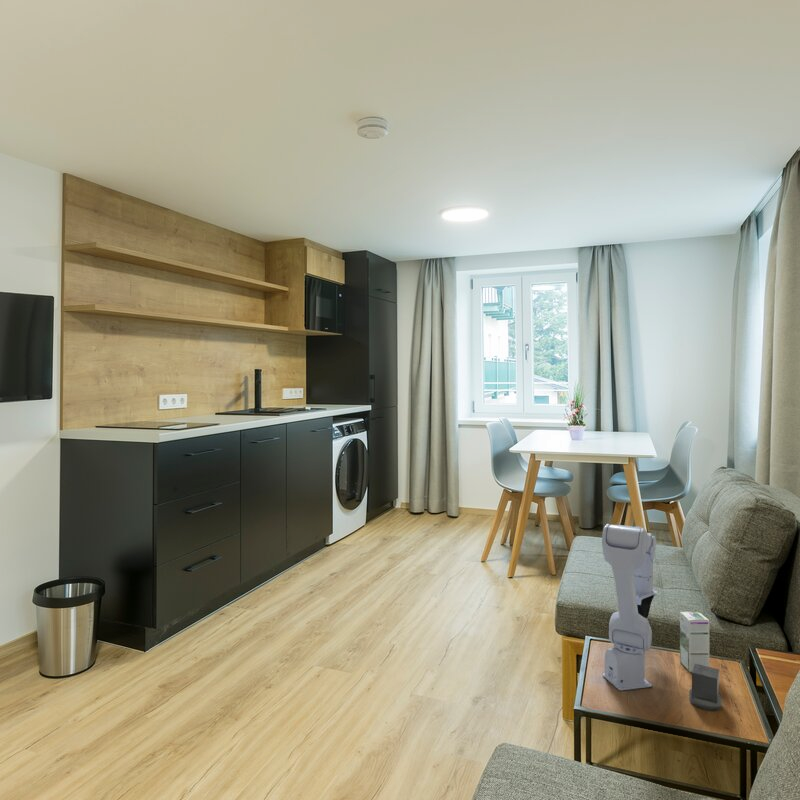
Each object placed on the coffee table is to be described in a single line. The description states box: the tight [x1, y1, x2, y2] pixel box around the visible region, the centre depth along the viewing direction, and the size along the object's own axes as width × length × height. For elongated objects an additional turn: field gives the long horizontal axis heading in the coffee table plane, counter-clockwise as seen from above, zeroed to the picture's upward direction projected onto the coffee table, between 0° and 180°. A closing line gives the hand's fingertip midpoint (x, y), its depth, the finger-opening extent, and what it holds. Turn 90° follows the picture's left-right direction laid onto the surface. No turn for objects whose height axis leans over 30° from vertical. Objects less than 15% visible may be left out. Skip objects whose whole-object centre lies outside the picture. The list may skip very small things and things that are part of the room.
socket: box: [691, 664, 720, 703], centre depth 141 cm, size 5×5×6 cm
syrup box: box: [679, 611, 710, 673], centre depth 158 cm, size 6×6×14 cm
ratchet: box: [688, 688, 723, 712], centre depth 144 cm, size 14×7×5 cm, turn 147°
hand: (641, 621), depth 164 cm, fingers open, 7 cm apart
